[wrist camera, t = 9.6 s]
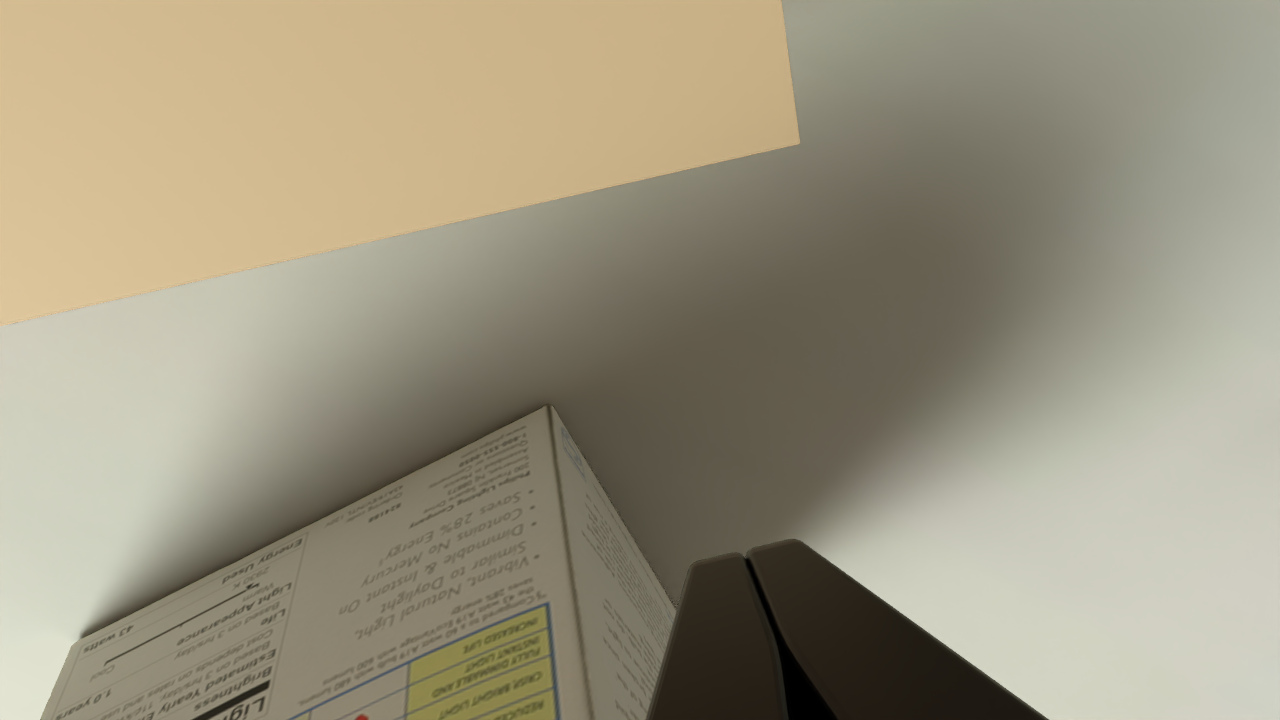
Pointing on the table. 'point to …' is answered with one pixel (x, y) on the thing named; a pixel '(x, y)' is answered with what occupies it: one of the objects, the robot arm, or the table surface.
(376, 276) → the table surface
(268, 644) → the light bulb box
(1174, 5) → the table surface
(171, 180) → the carton
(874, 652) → the robot arm
